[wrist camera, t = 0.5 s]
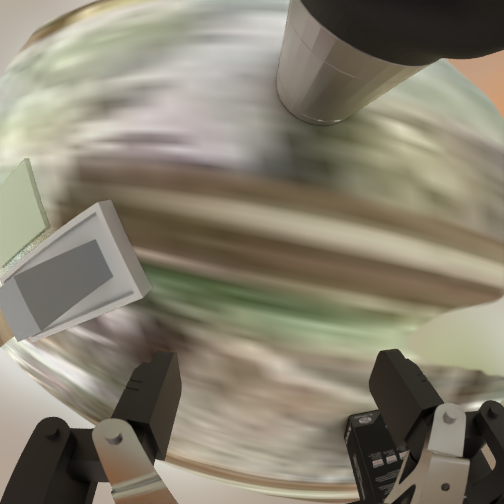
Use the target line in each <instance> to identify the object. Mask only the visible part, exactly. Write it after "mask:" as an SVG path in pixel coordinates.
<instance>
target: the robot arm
mask: <svg viewBox="0 0 504 504" xmlns="http://www.w3.org/2000/svg"><path fill="white" fill-rule="evenodd" d="M502 50H504V0H290V3H289V10H288V16H287V21H286V27H285V33H284V39H283V45H282V50H281V56H280V62H279V67H278V73H277V80H276V86H277V92H278V95H279V98H280V100H281V101H282V103H283V105H284V106H285V107H286V108H287V109H288V110H289V112H290V113H292V114H293V115H294V116H296V117H297V118H299V119H301V120H303V121H305V122H307V123H311V124H314V125H323V126H325V125H333V124H336V123H339V122H342V121H343V120H345V119H347V118H348V117H350V116H351V115H352V114H354V113H356V112H357V111H359V110H360V109H362V108H363V107H365V106H366V105H368V104H369V103H371V102H372V101H374V100H375V99H377V98H378V97H380V96H381V95H383V94H384V93H386V92H387V91H389V90H390V89H392V88H394V87H395V86H397V85H398V84H400V83H401V82H403V81H405V80H406V79H408V78H409V77H411V76H412V75H414V74H416V73H417V72H419V71H420V70H422V69H424V68H425V67H427V66H429V65H430V64H432V63H434V62H436V61H437V60H439V59H441V58H449V59H472V58H478V57H483V56H486V55H489V54H492V53H495V52H499V51H502ZM181 388H182V385H181V377H180V371H179V365H178V358H177V354H176V353H171V352H161V351H157V352H156V353H155V355H154V357H153V359H152V361H151V363H145V362H143V363H142V364H141V365H139V366H138V367H137V368H136V369H135V370H134V371H133V373H132V375H131V377H130V381H128V383H127V385H126V389H125V390H124V392H123V394H122V396H121V398H120V400H119V402H118V404H117V406H116V408H115V410H114V413H113V415H112V417H111V418H110V419H106V420H103V421H101V422H100V423H98V424H97V425H96V426H95V428H93V429H77V428H76V429H75V428H70V427H69V426H68V424H67V423H66V422H65V421H64V420H62V419H61V418H58V417H49V418H45V419H43V420H41V421H40V422H39V423H38V424H37V426H36V428H35V429H34V431H33V433H32V435H31V437H30V439H29V441H28V443H27V444H26V447H25V448H24V450H23V452H22V454H21V456H20V458H19V460H18V463H17V465H16V467H15V469H14V471H13V473H12V475H11V478H10V480H9V482H8V484H7V487H6V489H5V492H4V494H3V496H2V499H1V502H0V504H92V502H93V498H94V495H95V491H96V487H97V484H98V482H110V484H111V487H112V489H113V491H112V492H111V494H112V497H113V499H114V501H115V504H178V503H177V501H176V500H175V499H174V497H173V496H172V494H171V493H170V491H169V490H168V488H167V487H166V485H165V484H164V482H163V481H162V479H161V478H160V477H159V475H158V474H157V472H156V470H155V469H154V467H153V466H154V462H155V459H157V460H163V461H165V457H166V452H167V448H168V444H169V440H170V436H171V432H172V428H173V424H174V420H175V416H176V412H177V408H178V404H179V400H180V397H181ZM369 389H370V392H371V394H372V396H373V398H374V400H375V403H376V405H377V407H378V409H379V411H380V413H381V415H382V417H383V419H384V421H385V424H386V426H387V428H388V430H389V432H390V434H391V437H392V439H393V441H394V443H395V445H396V448H400V447H404V446H408V448H409V450H408V451H407V453H406V455H405V458H404V461H403V464H402V467H401V469H400V472H399V475H398V477H397V480H396V482H395V485H394V487H393V489H392V491H391V492H390V494H389V495H388V497H387V498H386V499H385V501H384V503H377V501H376V498H375V497H372V498H368V499H364V500H360V501H356V502H352V503H347V504H462V503H463V498H464V494H465V496H466V498H467V501H468V503H469V504H504V407H503V406H502V405H501V404H500V403H498V402H496V401H492V400H489V401H486V402H484V403H483V404H482V406H481V407H480V409H479V410H478V411H473V412H464V411H463V410H462V408H460V407H459V406H457V405H455V404H452V403H444V402H443V400H442V399H441V398H440V396H439V395H438V393H437V392H436V390H435V389H434V388H433V386H432V385H431V383H430V382H429V381H427V378H426V377H425V375H423V373H422V371H421V370H420V368H419V367H418V366H417V365H416V364H415V363H413V362H412V361H410V360H409V359H405V357H404V356H403V355H402V353H401V352H400V351H399V350H398V349H390V350H383V351H380V352H379V354H378V356H377V359H376V362H375V365H374V368H373V371H372V373H371V376H370V380H369ZM486 443H487V445H488V447H489V448H490V450H491V452H492V454H493V455H494V457H495V460H496V466H495V468H494V469H493V470H491V468H490V466H489V464H488V462H487V460H486V459H485V457H484V455H483V453H482V451H481V448H483V447H484V445H485V444H486Z"/></svg>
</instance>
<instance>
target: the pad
mask: <svg viewBox="0 0 504 504" xmlns="http://www.w3.org/2000/svg"><path fill="white" fill-rule="evenodd" d="M49 227H50V225H49V222H48V220H47V217H46V214H45V211H44V208H43V205H42V202H41V199H40V196H39V193H38V190H37V186H36V183H35V180H34V176H33V172H32V169H31V165H30V161H29V158H24V160H23V161H22V162H21V163H20V164H19V165H18V166H17V167H16V168H15V169H14V170H13V172H12V173H11V174H10V175H9V176H8V177H7V179H6V180H5V181H4V182H3V183H2V185H1V186H0V268H2V267H4V266H5V265H6V264H7V263H8V262H9V261H10V260H12V259H13V258H14V257H15V256H16V255H17V254H18V253H19V252H20V251H21V250H23V249H24V248H25V247H26V246H27V245H28V244H29V243H31V242H32V241H33V240H34V239H35V238H37V237H38V236H39V235H40V234H41V233H43V232H44V231H45V230H46V229H47V228H49Z"/></svg>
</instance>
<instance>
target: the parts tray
mask: <svg viewBox="0 0 504 504" xmlns="http://www.w3.org/2000/svg"><path fill="white" fill-rule="evenodd" d="M95 239H96V241H97V243H98V245H99V248H100V250H101V252H102V254H103V256H104V258H105V260H106V262H107V265H108V267H109V269H110V271H111V273H112V275H113V277H112V278H111V279H110V280H108V281H107V282H105V283H104V284H103V285H101V286H100V287H99V288H97V289H96V290H94V291H93V292H92V293H90V294H89V295H88V296H86V297H85V298H84V299H82V300H81V301H80V302H78V303H77V304H76V305H74V306H73V307H72V308H71V309H69V310H68V311H67V312H65V313H64V314H63V315H62V316H60V317H59V318H58V319H56V320H55V321H54V322H53V323H51V324H50V325H49V326H48V327H46V328H45V329H44V330H43V331H42V332H39V333H37V334H35V335H33V336H30V337H29V338H30V340H31V342H35V341H37V340H40V339H42V338H45V337H47V336H50V335H52V334H55V333H57V332H60V331H62V330H65V329H67V328H70V327H72V326H75V325H77V324H80V323H82V322H84V321H87V320H89V319H92V318H94V317H97V316H99V315H102V314H104V313H107V312H109V311H112V310H114V309H117V308H119V307H122V306H124V305H127V304H129V303H131V302H134V301H136V300H139V299H141V298H143V297H144V296H145V295H146V294H147V293H148V292H149V291H150V290H151V289H152V286H151V284H150V282H149V280H148V278H147V276H146V274H145V272H144V270H143V268H142V266H141V264H140V262H139V260H138V258H137V256H136V254H135V252H134V250H133V248H132V246H131V244H130V242H129V239H128V237H127V235H126V233H125V231H124V228H123V226H122V224H121V222H120V219H119V217H118V215H117V212H116V210H115V207H114V205H113V203H112V200H106V201H100V202H97V203H95V204H94V205H92V206H91V207H89V208H88V209H86V210H85V211H84V212H82V213H81V214H79V215H78V216H76V217H75V218H74V219H72V220H71V221H69V222H68V223H67V224H65V225H64V226H62V227H61V228H60V229H58V230H57V231H56V232H54V233H53V234H52V235H51V236H49V237H48V238H47V239H45V240H44V241H43V242H42V243H40V244H39V245H38V246H37V247H35V248H34V249H33V250H32V251H30V252H29V253H28V254H27V255H26V256H25V257H23V258H22V259H21V260H20V261H19V262H18V263H16V264H15V265H14V266H13V267H12V268H11V269H10V270H9V271H7V272H6V273H5V274H4V275H3V276H2V277H1V278H0V281H1V283H2V285H4V284H5V283H6V282H7V281H9V280H10V279H11V278H12V277H13V276H15V275H17V274H19V273H21V272H23V271H25V270H27V269H30V268H32V267H34V266H36V265H38V264H40V263H42V262H44V261H47V260H49V259H51V258H53V257H55V256H58V255H60V254H62V253H64V252H67V251H69V250H71V249H74V248H76V247H78V246H81V245H83V244H85V243H88V242H90V241H92V240H95Z"/></svg>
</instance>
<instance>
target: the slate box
mask: <svg viewBox="0 0 504 504" xmlns="http://www.w3.org/2000/svg"><path fill="white" fill-rule="evenodd" d="M112 277H113V275H112V273H111V271H110V269H109V267H108V265H107V262H106V260H105V258H104V256H103V254H102V252H101V250H100V248H99V245H98V243H97V241H96V239H95V240H92V241H90V242H88V243H85V244H83V245H81V246H78V247H76V248H74V249H71V250H69V251H67V252H64V253H62V254H60V255H58V256H55V257H53V258H51V259H49V260H47V261H44V262H42V263H40V264H38V265H36V266H34V267H32V268H30V269H27V270H25V271H23V272H21V273H19V274H17V275H15V276H13V277H12V278H11V279H10V280H9V281H7V282H6V283H5V284H4V285H3V286H2V287H1V288H0V309H1V311H2V313H3V315H4V317H5V319H6V321H7V323H8V325H9V327H10V329H11V330H12V332H13V334H14V336H15V338H16V339H17V341H18V342H19V341H21V340H24V339H26V338H28V337H30V336H33V335H35V334H37V333H39V332H42V331H43V330H44V329H45V328H46V327H48V326H49V325H50V324H51V323H53V322H54V321H55V320H56V319H58V318H59V317H60V316H62V315H63V314H64V313H65V312H67V311H68V310H69V309H71V308H72V307H73V306H74V305H76V304H77V303H78V302H80V301H81V300H82V299H84V298H85V297H86V296H88V295H89V294H90V293H92V292H93V291H94V290H96V289H97V288H99V287H100V286H101V285H103V284H104V283H105V282H107V281H108V280H110V279H111V278H112Z"/></svg>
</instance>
